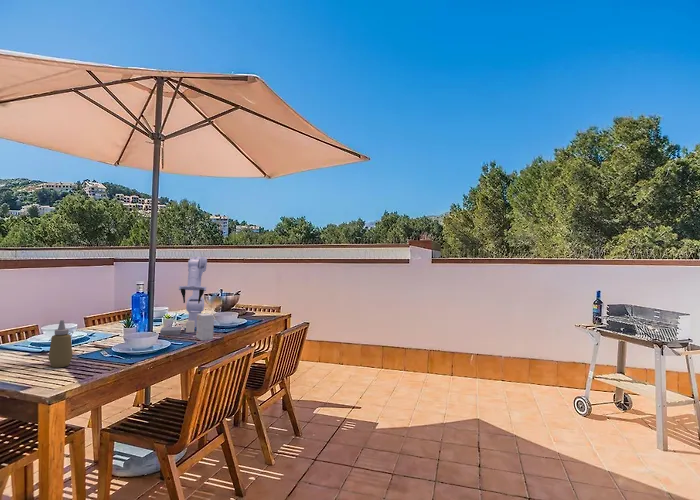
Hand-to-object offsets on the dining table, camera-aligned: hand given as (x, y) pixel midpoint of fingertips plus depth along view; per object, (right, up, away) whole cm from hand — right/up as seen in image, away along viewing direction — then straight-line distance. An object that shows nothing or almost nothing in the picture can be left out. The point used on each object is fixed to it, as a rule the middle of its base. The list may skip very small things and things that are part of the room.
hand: (191, 302), depth 251 cm
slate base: (-11, -17, 0) cm, 20 cm away
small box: (+11, -18, -11) cm, 24 cm away
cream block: (-3, -17, +7) cm, 19 cm away
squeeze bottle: (-26, -17, -73) cm, 79 cm away
